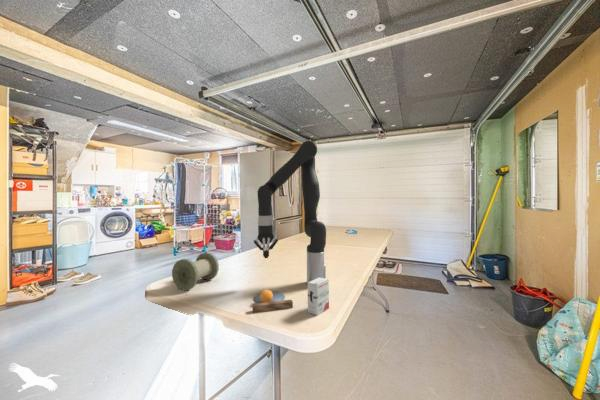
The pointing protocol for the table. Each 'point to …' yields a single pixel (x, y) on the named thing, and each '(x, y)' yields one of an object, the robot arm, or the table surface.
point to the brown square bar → (272, 306)
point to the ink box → (318, 295)
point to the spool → (194, 270)
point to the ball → (266, 296)
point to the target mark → (276, 297)
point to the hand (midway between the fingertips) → (266, 257)
